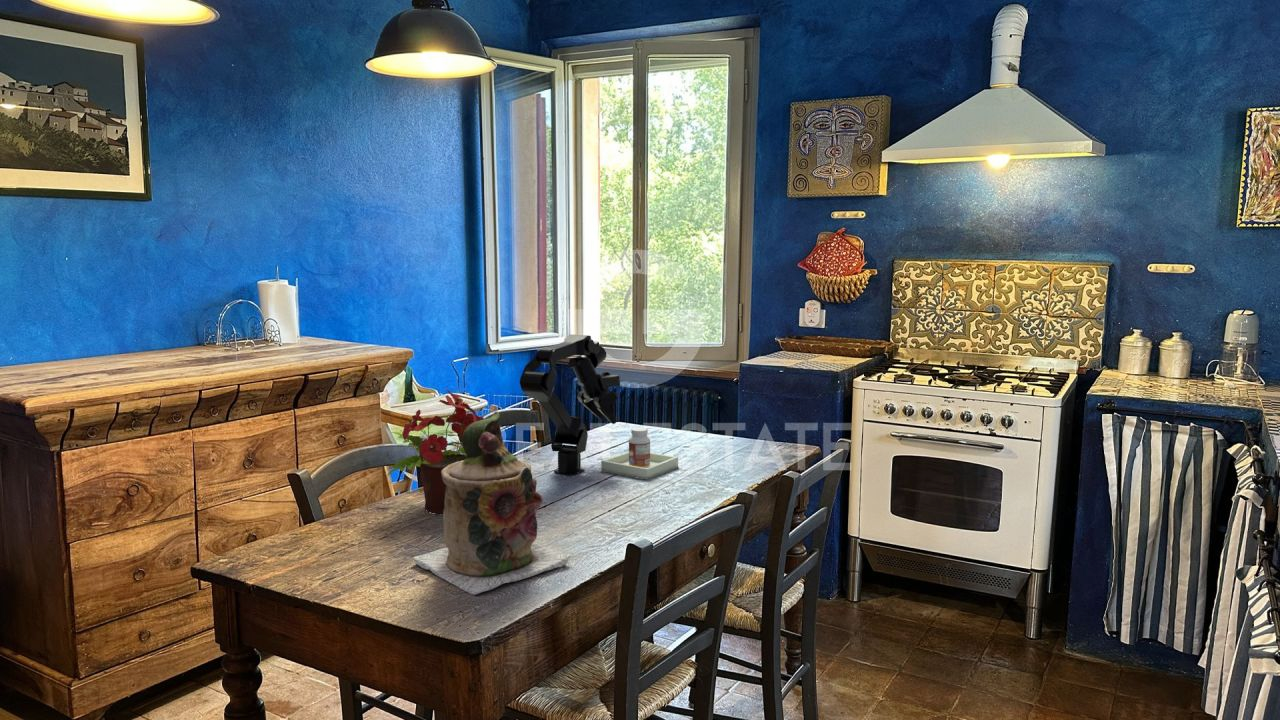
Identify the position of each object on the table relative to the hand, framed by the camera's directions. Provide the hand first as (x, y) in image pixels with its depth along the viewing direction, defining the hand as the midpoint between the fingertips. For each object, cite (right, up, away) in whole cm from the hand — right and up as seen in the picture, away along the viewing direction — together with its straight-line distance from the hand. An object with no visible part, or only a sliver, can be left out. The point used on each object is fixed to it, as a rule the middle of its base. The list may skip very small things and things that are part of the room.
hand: (608, 421), depth 263 cm
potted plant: (-39, -19, -37) cm, 57 cm away
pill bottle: (+9, -13, -5) cm, 17 cm away
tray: (+9, -13, -5) cm, 17 cm away
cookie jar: (-22, -25, -77) cm, 84 cm away
